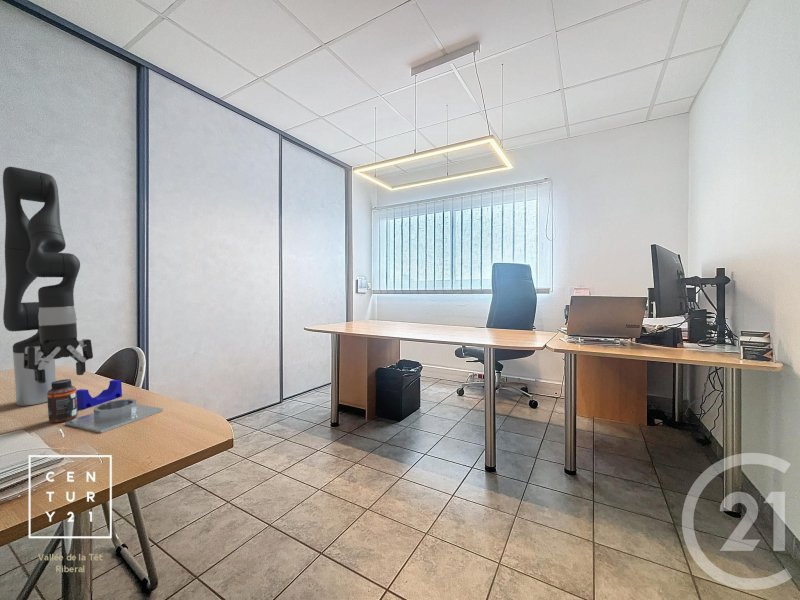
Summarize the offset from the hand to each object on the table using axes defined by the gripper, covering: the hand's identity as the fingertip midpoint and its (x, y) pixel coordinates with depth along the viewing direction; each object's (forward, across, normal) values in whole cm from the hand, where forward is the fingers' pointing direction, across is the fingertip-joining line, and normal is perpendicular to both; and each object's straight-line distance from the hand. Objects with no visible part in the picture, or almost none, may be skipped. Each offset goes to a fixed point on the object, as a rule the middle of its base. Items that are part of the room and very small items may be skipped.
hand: (61, 378), depth 96 cm
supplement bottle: (+12, 0, 0) cm, 12 cm away
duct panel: (+12, -6, +13) cm, 18 cm away
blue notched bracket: (+12, -12, -8) cm, 19 cm away
